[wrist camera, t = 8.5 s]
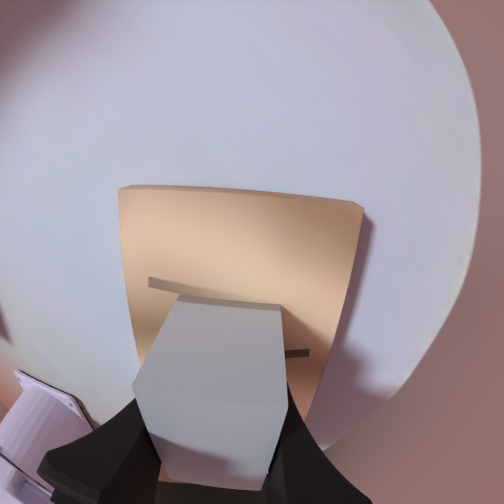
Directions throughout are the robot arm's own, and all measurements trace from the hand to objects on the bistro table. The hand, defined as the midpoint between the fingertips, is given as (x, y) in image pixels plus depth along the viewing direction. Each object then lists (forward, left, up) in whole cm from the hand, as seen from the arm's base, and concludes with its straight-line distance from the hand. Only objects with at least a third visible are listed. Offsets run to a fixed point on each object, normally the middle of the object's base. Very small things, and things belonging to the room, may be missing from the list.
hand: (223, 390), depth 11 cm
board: (+1, 0, -2) cm, 3 cm away
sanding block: (+1, 0, -1) cm, 1 cm away
